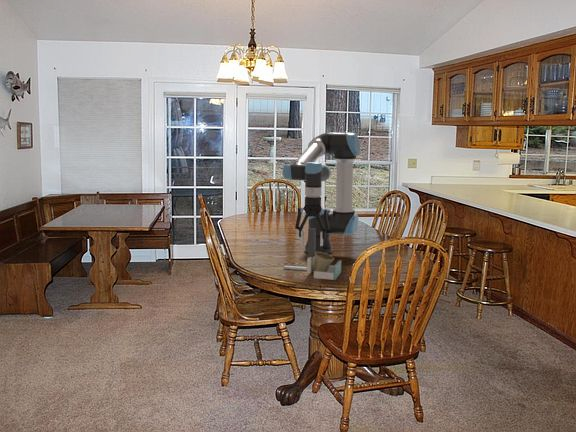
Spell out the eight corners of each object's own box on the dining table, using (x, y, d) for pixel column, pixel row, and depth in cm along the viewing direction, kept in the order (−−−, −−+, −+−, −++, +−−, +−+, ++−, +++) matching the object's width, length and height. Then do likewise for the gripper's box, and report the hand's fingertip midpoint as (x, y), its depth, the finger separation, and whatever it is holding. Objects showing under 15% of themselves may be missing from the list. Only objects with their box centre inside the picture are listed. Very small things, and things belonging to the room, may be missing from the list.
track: (284, 267, 296) (284, 265, 296) (319, 270, 291) (319, 268, 291) (283, 268, 294) (283, 266, 294) (318, 271, 290) (318, 269, 289)
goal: (320, 271, 291) (320, 258, 290) (340, 272, 288) (341, 260, 287) (313, 278, 277) (314, 265, 277) (335, 279, 275) (335, 266, 274)
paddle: (310, 266, 293) (311, 225, 290) (318, 267, 292) (319, 226, 289) (304, 273, 280) (305, 230, 277) (312, 273, 279) (314, 230, 276)
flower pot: (324, 278, 278) (330, 261, 276) (306, 270, 281) (311, 253, 279) (331, 274, 287) (336, 257, 285) (313, 267, 290) (318, 250, 288)
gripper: (288, 196, 278) (287, 244, 282) (334, 198, 273) (333, 248, 276) (292, 194, 285) (291, 241, 289) (337, 196, 280) (336, 244, 284)
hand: (311, 244), depth 283 cm, fingers open, 8 cm apart
